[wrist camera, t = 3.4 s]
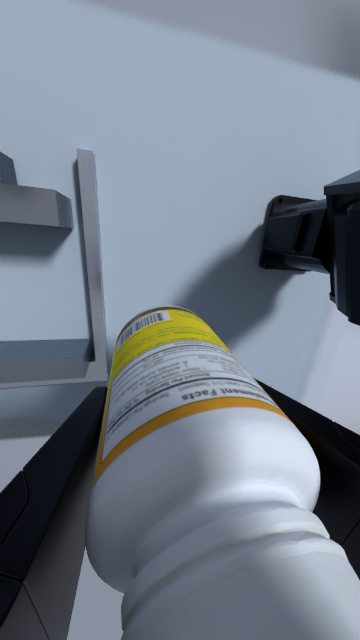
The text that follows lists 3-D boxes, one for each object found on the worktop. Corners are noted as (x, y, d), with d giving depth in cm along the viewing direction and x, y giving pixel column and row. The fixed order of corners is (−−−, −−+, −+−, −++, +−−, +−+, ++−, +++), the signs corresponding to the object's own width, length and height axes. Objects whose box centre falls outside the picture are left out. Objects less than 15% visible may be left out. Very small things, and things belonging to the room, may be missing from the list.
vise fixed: (94, 156, 15) (84, 134, 12) (108, 374, 22) (104, 397, 19) (-141, 117, 12) (-241, 74, 9) (-37, 383, 19) (-71, 413, 16)
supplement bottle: (188, 392, 13) (309, 736, 4) (102, 375, 12) (-17, 918, 2) (225, 318, 12) (546, 604, 3) (133, 286, 10) (138, 838, 1)
